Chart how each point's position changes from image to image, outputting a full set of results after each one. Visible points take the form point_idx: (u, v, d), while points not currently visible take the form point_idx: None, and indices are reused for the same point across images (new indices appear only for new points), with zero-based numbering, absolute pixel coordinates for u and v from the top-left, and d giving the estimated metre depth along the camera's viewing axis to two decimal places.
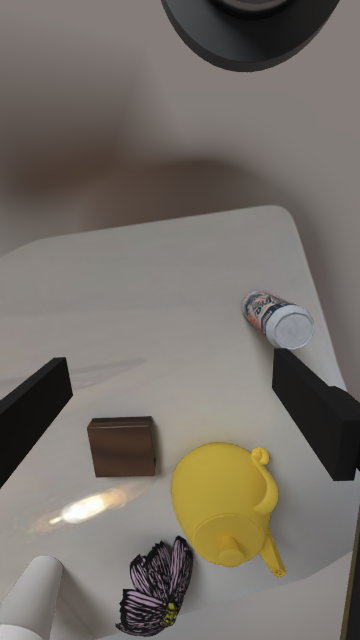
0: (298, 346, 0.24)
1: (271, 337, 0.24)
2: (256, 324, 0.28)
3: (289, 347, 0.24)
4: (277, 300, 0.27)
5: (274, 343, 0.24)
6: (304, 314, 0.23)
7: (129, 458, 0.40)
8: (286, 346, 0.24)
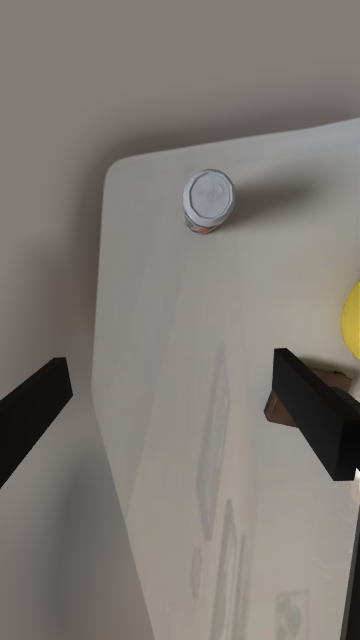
0: (230, 193, 0.21)
1: (211, 222, 0.22)
2: (205, 229, 0.26)
3: (228, 204, 0.21)
4: None
5: (220, 220, 0.22)
6: (195, 179, 0.21)
7: None
8: (226, 207, 0.21)
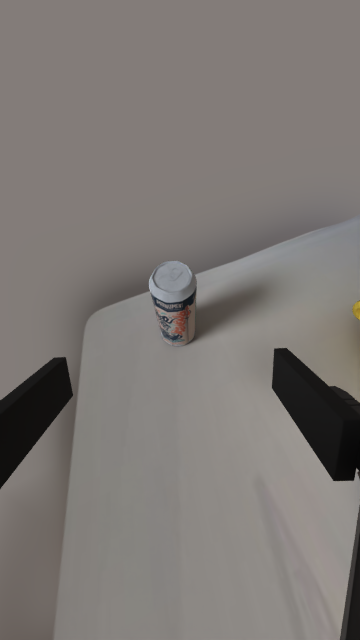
0: (189, 271, 0.23)
1: (179, 295, 0.22)
2: (180, 319, 0.26)
3: (190, 278, 0.23)
4: (153, 301, 0.26)
5: (187, 292, 0.23)
6: (155, 270, 0.24)
7: None
8: (189, 280, 0.23)
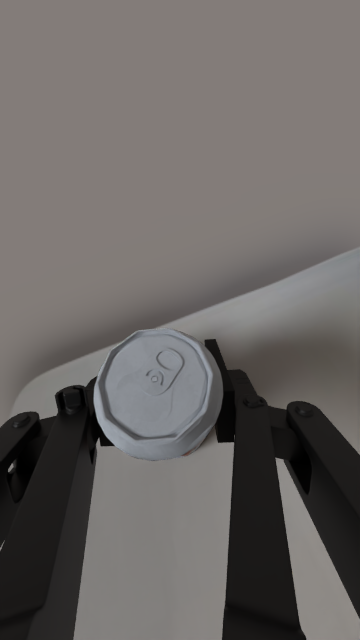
0: (203, 359, 0.08)
1: (177, 445, 0.07)
2: None
3: (207, 385, 0.08)
4: None
5: (200, 430, 0.08)
6: (111, 355, 0.09)
7: None
8: (204, 394, 0.08)
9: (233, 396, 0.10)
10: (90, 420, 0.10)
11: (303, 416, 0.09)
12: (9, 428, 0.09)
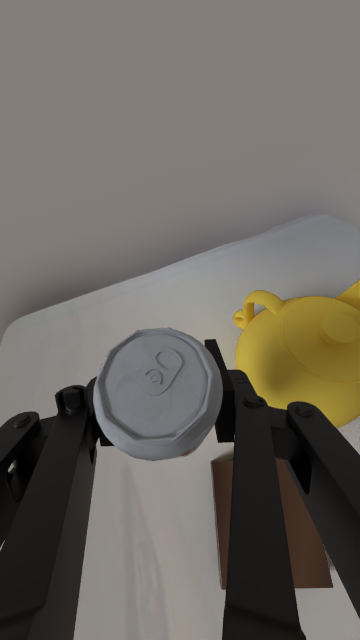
0: (202, 359, 0.08)
1: (177, 445, 0.07)
2: None
3: (206, 384, 0.08)
4: None
5: (200, 430, 0.08)
6: (111, 355, 0.09)
7: None
8: (204, 394, 0.08)
9: (233, 396, 0.10)
10: (90, 420, 0.10)
11: (303, 416, 0.09)
12: (9, 428, 0.09)
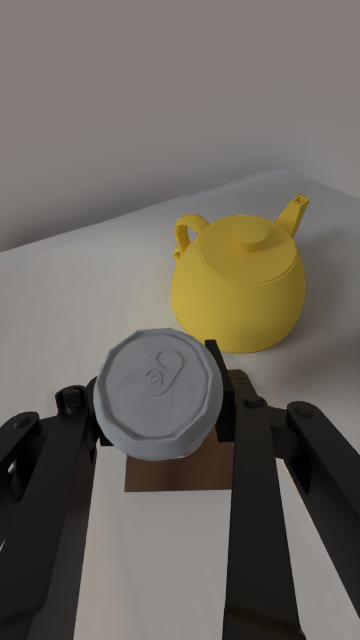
0: (203, 360, 0.08)
1: (177, 445, 0.07)
2: None
3: (207, 385, 0.08)
4: None
5: (200, 430, 0.08)
6: (111, 355, 0.09)
7: None
8: (204, 394, 0.08)
9: (233, 396, 0.10)
10: (90, 420, 0.10)
11: (303, 416, 0.09)
12: (9, 428, 0.09)
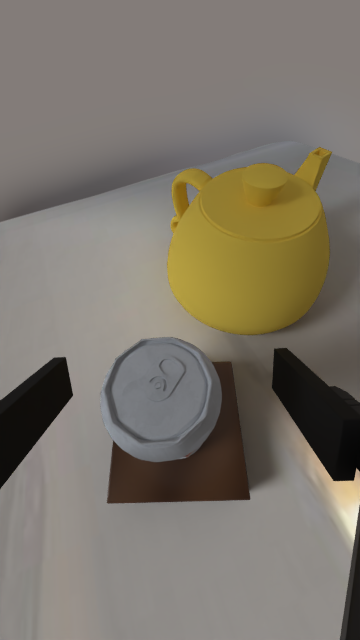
0: (203, 367, 0.09)
1: (179, 447, 0.08)
2: None
3: (206, 391, 0.09)
4: None
5: (200, 433, 0.08)
6: (117, 363, 0.09)
7: None
8: (204, 400, 0.08)
9: None
10: None
11: None
12: None
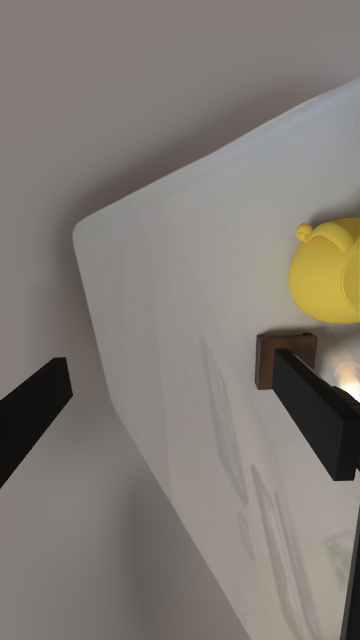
0: None
1: None
2: None
3: None
4: None
5: None
6: None
7: None
8: None
9: None
10: None
11: None
12: None
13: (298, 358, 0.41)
